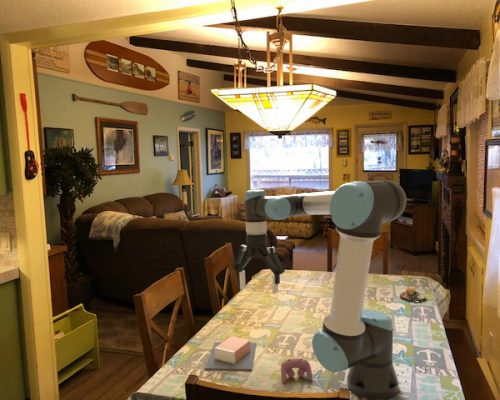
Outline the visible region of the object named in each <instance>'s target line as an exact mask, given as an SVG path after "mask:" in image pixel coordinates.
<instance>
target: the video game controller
mask: <svg viewBox="0 0 500 400" xmlns="http://www.w3.org/2000/svg"><path fill="white" fill-rule="evenodd" d="M293 369H297V372H296V371H294V370H293ZM295 372H296V373H295ZM280 374H281V379H282V382H283V383H286V382H287V376H288V377H289V378H293V377H295V375H296V374H297V376H298V377H300V378H302V377H304V376H305V375H306V374H307V375H306V376H307V378H308V380H309V381H310V382H312V381H313V373H312V368H311V364H310V362H309V361H307V359H304V358H300V357H299V358H298V357H297V358H296V357H293V358H289V359H285V360H284V361H283V362H281V364H280Z"/></svg>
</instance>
